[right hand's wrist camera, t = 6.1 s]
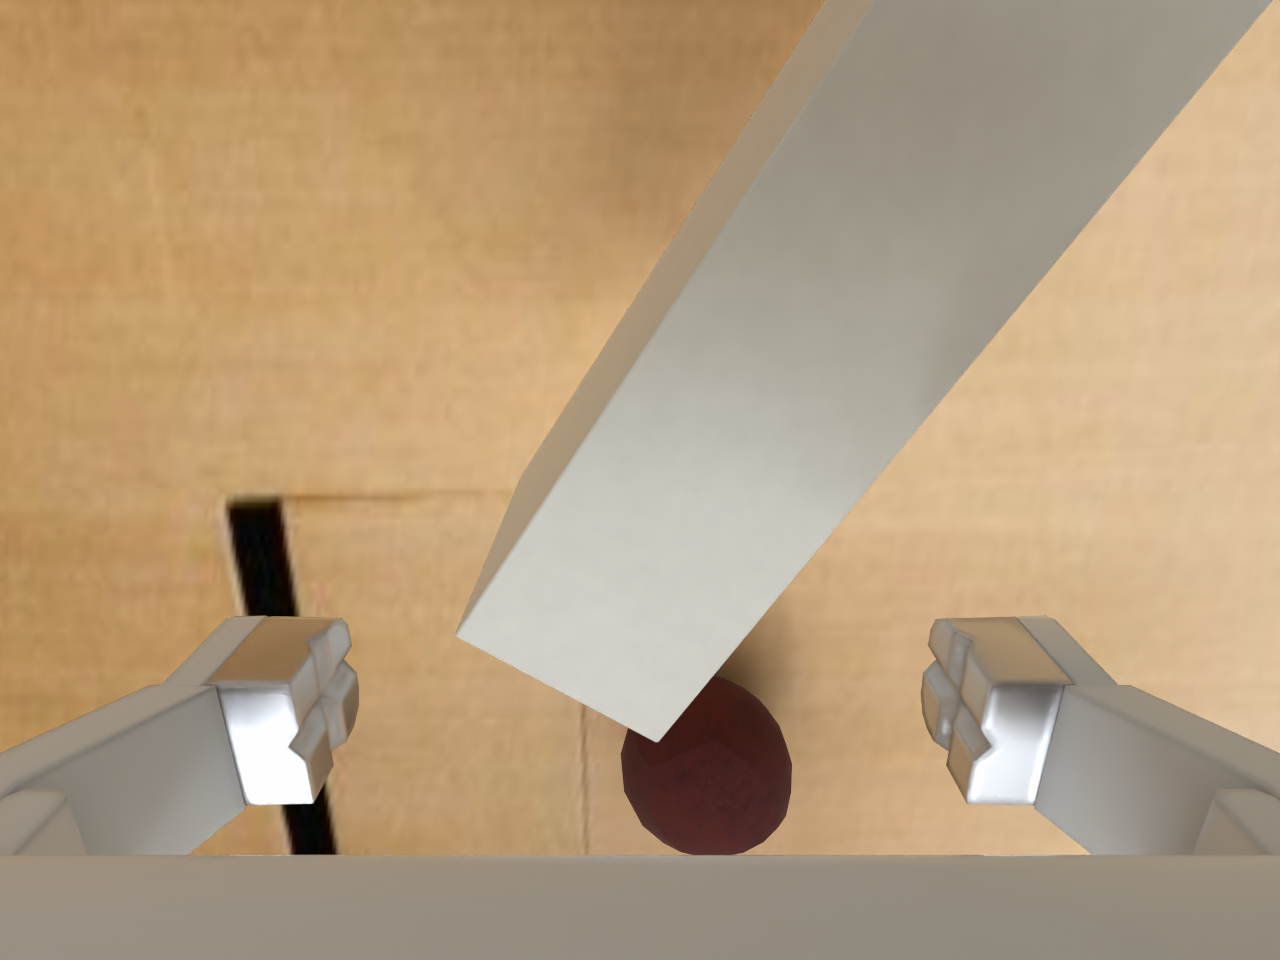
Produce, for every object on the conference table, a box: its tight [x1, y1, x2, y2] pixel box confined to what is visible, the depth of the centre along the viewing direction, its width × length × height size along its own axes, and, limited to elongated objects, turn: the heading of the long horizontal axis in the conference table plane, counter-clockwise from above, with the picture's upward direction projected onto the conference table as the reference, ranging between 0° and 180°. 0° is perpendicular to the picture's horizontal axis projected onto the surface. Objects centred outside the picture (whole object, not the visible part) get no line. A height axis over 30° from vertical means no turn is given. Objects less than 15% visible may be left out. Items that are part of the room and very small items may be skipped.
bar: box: [456, 0, 1272, 742], centre depth 14 cm, size 25×5×8 cm, turn 147°
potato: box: [621, 676, 792, 855], centre depth 33 cm, size 7×8×7 cm
